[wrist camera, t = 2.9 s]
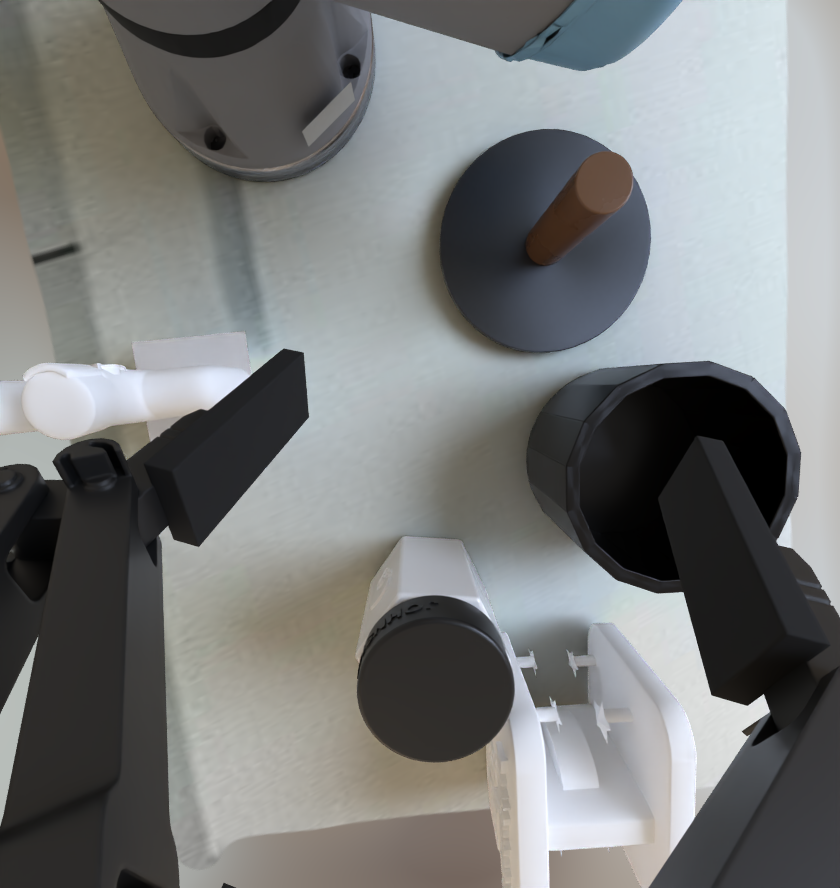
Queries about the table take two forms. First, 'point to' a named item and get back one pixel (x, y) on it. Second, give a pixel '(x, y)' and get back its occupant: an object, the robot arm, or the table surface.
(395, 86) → the table surface
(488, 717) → the jar
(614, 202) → the lid
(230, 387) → the figurine
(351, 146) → the table surface
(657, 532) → the pot
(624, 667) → the cable organizer
